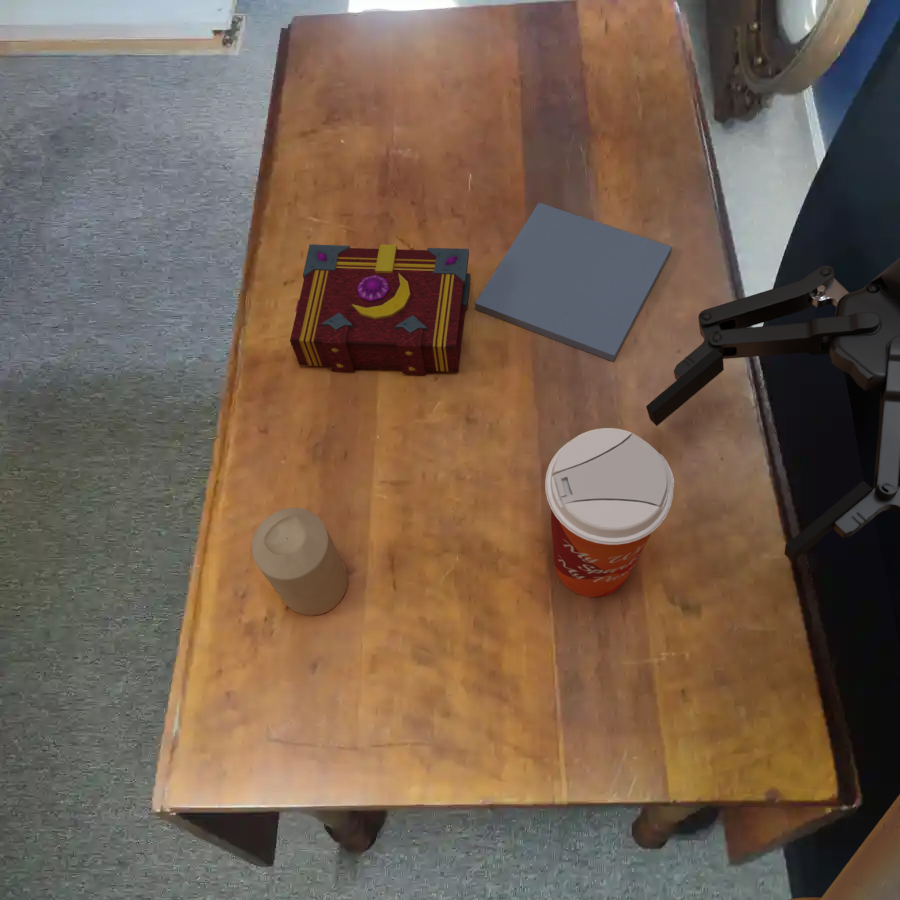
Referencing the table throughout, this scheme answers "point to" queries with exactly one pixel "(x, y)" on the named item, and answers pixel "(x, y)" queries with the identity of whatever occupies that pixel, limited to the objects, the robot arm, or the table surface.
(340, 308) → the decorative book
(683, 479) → the table surface
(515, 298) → the cup mat
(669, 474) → the coffee cup
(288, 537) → the candle
